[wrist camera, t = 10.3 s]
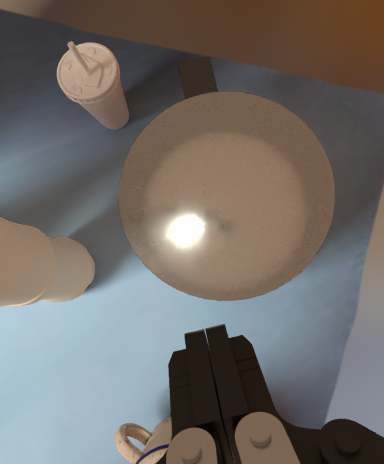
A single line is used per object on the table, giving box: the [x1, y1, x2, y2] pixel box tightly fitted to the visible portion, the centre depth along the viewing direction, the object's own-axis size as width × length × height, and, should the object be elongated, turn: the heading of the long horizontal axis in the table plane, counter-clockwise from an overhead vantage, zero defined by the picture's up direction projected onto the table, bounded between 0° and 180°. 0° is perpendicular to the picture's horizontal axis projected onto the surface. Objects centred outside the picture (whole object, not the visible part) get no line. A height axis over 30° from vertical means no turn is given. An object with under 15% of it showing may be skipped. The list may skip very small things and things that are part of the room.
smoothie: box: [57, 42, 129, 130], centre depth 38 cm, size 6×6×14 cm
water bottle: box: [0, 217, 95, 306], centre depth 29 cm, size 7×7×25 cm
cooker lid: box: [118, 57, 335, 301], centre depth 31 cm, size 22×19×2 cm
